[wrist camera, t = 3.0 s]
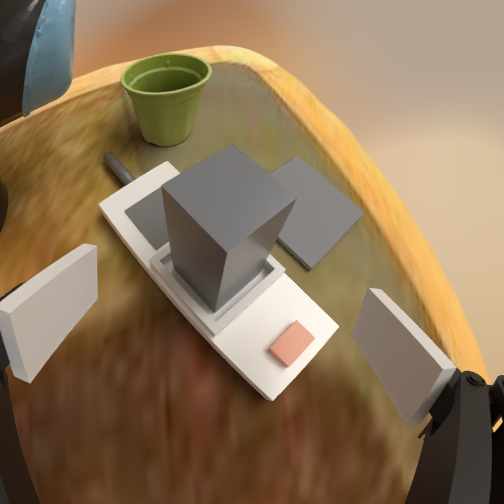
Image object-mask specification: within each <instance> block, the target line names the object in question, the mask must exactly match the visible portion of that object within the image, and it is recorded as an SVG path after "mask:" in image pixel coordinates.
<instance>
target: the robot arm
mask: <svg viewBox="0 0 504 504" xmlns="http://www.w3.org/2000/svg"><path fill="white" fill-rule="evenodd" d="M75 11H76V0H0V127H2V126H4V125H6V124H8V123H10V122H12V121H14V120H16V119H18V118H20V117H22V116H23V117H26V116H28V115H29V114H30V112H32V111H34V110H36V109H38V108H40V107H42V106H44V105H46V104H48V103H50V102H52V101H54V100H57V99H58V98H60V97H61V96H62V95H64V94H65V92H66V91H67V90H68V88H69V87H70V85H71V82H72V78H73V59H74V27H75ZM7 204H8V194H7V189H6V186H5V184H4V183H3V181H2V180H1V178H0V231H1V228H2V225H3V222H4V219H5V215H6V211H7ZM97 299H98V285H97V246H95V245H89V244H82V245H81V246H79V247H77V248H76V249H74V250H73V251H71V252H70V253H68V254H67V255H65V256H64V257H62V258H61V259H59V260H58V261H56V262H55V263H53V264H52V265H50V266H49V267H47V268H46V269H44V270H43V271H41V272H40V273H39V274H37V275H36V276H34V277H33V278H31V279H30V280H29V281H27V282H24V283H21V284H19V285H17V286H16V287H14V288H13V289H12V290H11V291H9V292H8V293H6V294H5V296H2V297H1V298H0V504H40V502H39V499H38V497H37V494H36V492H35V489H34V486H33V484H32V481H31V478H30V475H29V472H28V469H27V466H26V463H25V460H24V457H23V453H22V450H21V446H20V442H19V438H18V434H17V430H16V426H15V421H14V416H13V411H12V406H11V400H10V393H9V387H8V379H7V375H6V372H5V368H6V367H7V366H8V365H9V363H10V366H11V368H12V371H13V374H14V376H15V377H17V378H19V379H21V380H23V381H26V382H28V383H31V382H32V380H33V379H34V378H35V376H36V375H37V374H38V372H39V371H40V370H41V368H42V367H43V366H44V364H45V363H46V362H47V360H48V359H49V358H50V356H51V355H52V354H53V352H54V351H55V350H56V349H57V347H58V346H59V345H60V344H61V342H62V341H63V340H64V339H65V337H66V336H67V335H68V334H69V332H70V331H71V330H72V329H73V327H74V326H75V325H76V324H77V323H78V321H79V320H80V319H81V318H82V317H83V316H84V314H85V313H86V312H87V311H88V310H89V308H90V307H91V306H92V305H93V304H94V303H95V302H96V300H97ZM351 335H352V337H353V338H354V340H355V341H356V343H357V345H358V346H359V348H360V349H361V351H362V353H363V354H364V356H365V357H366V359H367V361H368V362H369V364H370V366H371V367H372V369H373V371H374V372H375V374H376V376H377V377H378V379H379V381H380V382H381V384H382V386H383V387H384V389H385V391H386V392H387V394H388V396H389V397H390V399H391V401H392V403H393V404H394V406H395V408H396V409H397V411H398V413H399V415H400V416H401V418H402V420H403V422H404V423H405V425H406V426H410V425H415V424H419V423H421V422H422V421H423V419H424V418H425V417H426V415H427V414H428V412H429V413H430V414H431V416H432V419H431V420H430V422H429V423H428V424H427V426H426V427H425V428H424V429H423V431H422V432H421V433H420V435H419V436H418V438H421V437H422V435H424V434H426V435H425V438H424V439H423V440H424V443H423V447H422V451H421V455H420V458H419V462H418V465H417V469H416V472H415V475H414V478H413V481H412V484H411V487H410V490H409V493H408V496H407V499H406V501H405V504H504V375H500V376H498V377H497V379H496V381H495V382H494V384H493V385H487V384H486V382H485V380H484V379H483V378H482V377H481V376H479V375H478V374H476V373H474V372H471V371H464V372H461V371H460V370H459V369H458V368H457V367H456V366H455V365H454V364H453V363H452V361H451V360H450V359H449V358H448V357H447V356H446V355H445V354H444V353H443V352H442V351H441V350H440V349H439V347H438V346H437V345H436V344H435V343H434V342H433V341H432V340H431V339H430V338H429V337H428V336H427V335H426V334H425V333H424V332H423V331H422V330H421V329H420V328H419V327H418V326H417V325H416V324H415V323H414V322H413V321H412V320H411V319H410V318H409V317H408V316H407V315H406V314H405V313H404V312H403V311H402V310H401V309H400V308H399V307H398V306H397V305H396V304H395V303H394V302H393V301H392V300H391V299H390V298H389V297H388V296H387V295H386V294H385V293H384V292H383V291H382V290H381V289H374V288H368V290H367V293H366V296H365V299H364V302H363V305H362V307H361V310H360V313H359V316H358V319H357V321H356V324H355V327H354V329H353V332H352V334H351ZM501 417H502V421H503V422H502V424H501V425H500V426H499V428H498V429H497V430H496V431H495V432H493V429H492V428H493V427H494V425H495V424H496V423H497V422H498V420H499V419H500V418H501Z"/></svg>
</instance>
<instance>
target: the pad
mask: <svg viewBox="0 0 504 504" xmlns="http://www.w3.org/2000/svg"><path fill="white" fill-rule="evenodd" d="M270 175H272V176H273V177H274V178H275V179H276V180H278V181H279V182H280V183H281V184H282V185H284V186H285V187H286V188H287V189H288V190H289V191H291V192H292V193H293V194H294V195H295V196H296V197H297V199H296V201H295V203H294V205H293V208H292V210H291V212H290V214H289V216H288V218H287V220H286V222H285V224H284V226H283V228H282V230H281V232H280V234H279V236H278V238H277V241H278V242H279V243H281V244H282V245H283V246H284V247H285V248H286V249H287V250H288V251H289V252H290V253H291V254H292V255H293V256H294V257H295V258H296V259H297V260H298V261H300V262H301V263H302V264H303V265H304V266H305V267H306V268H307V269H308V270H309V271H310V270H311V269H312V268H313V267H314V266H315V265H316V264H317V263H318V262H319V261H320V260H321V259H322V258H323V257H324V256H325V255H326V254H327V253H328V252H329V250H330V249H331V248H332V247H333V246H334V245H335V244H336V243H337V242H338V241H339V240H340V239H341V238H342V237H343V236H344V235H345V233H346V232H347V231H348V230H349V229H350V228H351V227H352V226H353V225H354V224H355V223H356V221H357V220H358V219H359V218H360V217H361V216H362V215H363V214H364V212H363V211H362V210H361V209H360V208H358V207H357V206H356V205H355V204H354V203H353V202H352V201H351V200H350V199H348V198H347V197H346V196H345V195H344V194H343V193H342V192H341V191H339V190H338V189H337V188H336V187H335V186H334V185H332V184H331V183H330V182H329V181H328V180H327V179H325V178H324V177H323V176H322V175H321V174H319V173H318V172H317V171H316V170H314V169H313V168H312V167H311V166H310V165H308V164H307V163H306V162H305V161H303V160H302V159H301V158H300V157H298V156H297V157H295V158H294V159H292V160H291V161H289V162H287V163H286V164H284V165H283V166H281V167H280V168H278V169H277V170H275V171H273V172H272V173H270Z"/></svg>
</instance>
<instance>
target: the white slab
mask: <svg viewBox="0 0 504 504" xmlns="http://www.w3.org/2000/svg"><path fill="white" fill-rule="evenodd" d="M103 159H104V161H105V162H106V163H107V164H108V166H109V167H110V168H111V169H112V170H113V172H114V173H115V174H116V175H117V177H118V178H119V179H120V180H121V181H122V182H123V184H124V185H125V187H123V188H122V189H120V190H119V191H117V192H115V193H114V194H112V195H111V196H109V197H108V198H106V199H105V200H103V201H102V202H101V203H99V206H100V209H101V211H102V213H103V216H104V217H105V219H106V220H107V221H108V223H109V224H110V225H111V227H112V228H113V229H114V231H115V232H116V233H117V235H118V236H119V237H120V239H121V240H122V241H123V243H124V244H125V245H126V247H127V248H128V249H129V251H130V252H131V253H132V254H133V256H134V257H135V258H136V259H137V261H138V262H139V263H140V264H141V266H142V267H143V268H144V269H145V271H146V272H147V273H148V274H149V276H150V277H151V278H152V279H153V280H154V282H155V283H156V284H157V285H158V286H159V288H160V289H161V290H162V291H163V292H164V294H165V295H166V296H167V297H168V298H169V299H170V301H171V302H172V303H173V304H174V305H175V306H176V307H177V309H178V310H179V311H180V312H181V313H182V314H183V315H184V316H185V318H186V319H187V320H188V321H189V322H190V323H191V324H192V325H193V326H194V327H195V329H196V330H197V331H198V332H199V333H200V334H201V335H202V336H203V337H204V338H205V339H206V340H207V341H208V343H209V344H210V345H211V346H212V347H213V348H214V349H215V350H216V351H217V352H218V353H219V354H220V355H221V356H222V357H223V358H224V359H225V360H226V361H227V362H228V363H229V364H230V365H231V366H232V367H233V368H234V369H235V370H236V371H237V372H238V373H239V374H240V375H241V376H242V377H243V378H244V379H245V380H246V381H247V382H248V383H249V384H250V385H251V386H252V387H253V388H254V389H256V390H257V391H258V392H259V393H260V394H261V395H262V396H263V397H264V398H265V399H266V400H271V401H273V400H274V399H275V398H276V397H277V396H278V395H279V394H280V393H281V392H282V391H283V390H284V389H285V388H286V386H287V385H288V384H289V383H290V382H291V381H292V380H293V379H294V378H295V377H296V376H297V375H298V374H299V373H300V371H301V370H302V369H303V368H304V367H305V366H306V365H307V364H308V363H309V361H310V360H311V359H312V358H313V357H314V356H315V355H316V353H317V352H318V351H319V350H320V349H321V348H322V346H323V345H324V344H325V343H326V342H327V341H328V339H329V338H330V337H331V336H332V335H333V333H334V332H335V331H336V330H337V328H338V327H339V326H338V325H337V324H336V323H335V322H334V321H333V320H332V319H331V318H330V317H329V316H328V315H327V314H326V313H325V312H324V311H323V310H322V309H321V308H320V307H319V306H318V305H317V304H316V303H315V302H314V301H313V300H312V299H311V298H310V297H308V296H307V295H306V294H305V293H304V292H303V291H302V290H301V289H300V288H299V287H298V286H297V285H296V284H295V283H294V282H293V281H292V280H291V279H290V278H289V277H288V276H287V275H286V274H285V273H284V271H285V270H286V269H285V268H284V267H283V266H282V265H281V264H280V263H279V262H278V261H277V260H276V259H275V258H274V257H272V256H271V255H270V254H269V256H268V258H267V260H266V262H265V264H264V266H263V268H262V270H261V272H260V274H259V275H258V276H257V277H256V278H254V279H253V280H252V281H251V282H250V283H249V284H248V285H247V286H245V287H244V288H243V289H242V290H241V291H240V292H239V293H237V294H236V295H235V296H234V297H233V298H232V299H231V300H230V301H228V302H227V303H226V304H225V305H224V306H223V307H222V308H220V309H219V310H218V311H217V312H216V313H214V312H213V311H212V310H211V309H210V308H209V307H208V305H207V304H206V303H205V302H204V301H203V300H202V299H201V298H200V297H199V296H198V295H197V294H196V292H195V291H194V290H193V289H192V288H191V287H190V286H189V285H188V284H187V283H186V281H185V280H184V279H183V278H182V277H181V276H180V275H179V274H178V273H177V271H176V270H175V269H174V268H173V262H172V256H171V250H170V244H169V238H168V232H167V225H166V219H165V212H164V204H163V197H162V189H161V185H162V184H164V183H165V182H167V181H168V180H170V179H172V178H173V177H175V176H177V175H178V174H180V173H179V172H178V171H177V170H176V169H175V168H174V167H173V166H172V165H171V164H170V163H169V162H168V161H166V162H164V163H163V164H161V165H159V166H157V167H156V168H154V169H152V170H151V171H149V172H147V173H146V174H144V175H142V176H141V177H139V178H137V179H135V178H134V177H133V176H132V175H131V173H130V172H129V171H128V170H127V169H126V168H125V167H124V166H123V164H122V163H121V162H120V161H119V160H118V159H117V158H116V157H115V155H114V154H113V153H112V152H107V153H106V154H105V155H104V157H103Z"/></svg>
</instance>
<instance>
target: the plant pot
mask: <svg viewBox="0 0 504 504" xmlns="http://www.w3.org/2000/svg"><path fill="white" fill-rule="evenodd" d="M211 73H212V69H211V66H210V65H209V64H208V63H207V62H206V61H205V60H203V59H201V58H199V57H196V56H193V55H188V54H180V53H167V54H159V55H154V56H150V57H146V58H144V59H141V60H139V61H137V62H135V63H133V64H131V65H130V66H128V67H127V68H126V69H125V71H124V72H123V73H122V75H121V84H122V86H123V87H124V88H125V89H126V90H127V92H128V95H129V96H130V97H131V99H132V102H133V106H134V109H135V113H136V116H137V119H138V122H139V126H140V129H141V132H142V135H143V137H144V139H145V140H146V141H147V142H149V143H153V144H156V145H158V146H172V145H176V144H179V143H181V142H183V141H184V140H185V139H186V138H187V137H188V135H189V134H190V133H191V132H192V127H193V123H194V118H195V114H196V110H197V105H198V101H199V98H200V94H201V91H202V89H203V88H204V86H205V83H206V82H207V81H208V80H209V78H210V76H211Z"/></svg>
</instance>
